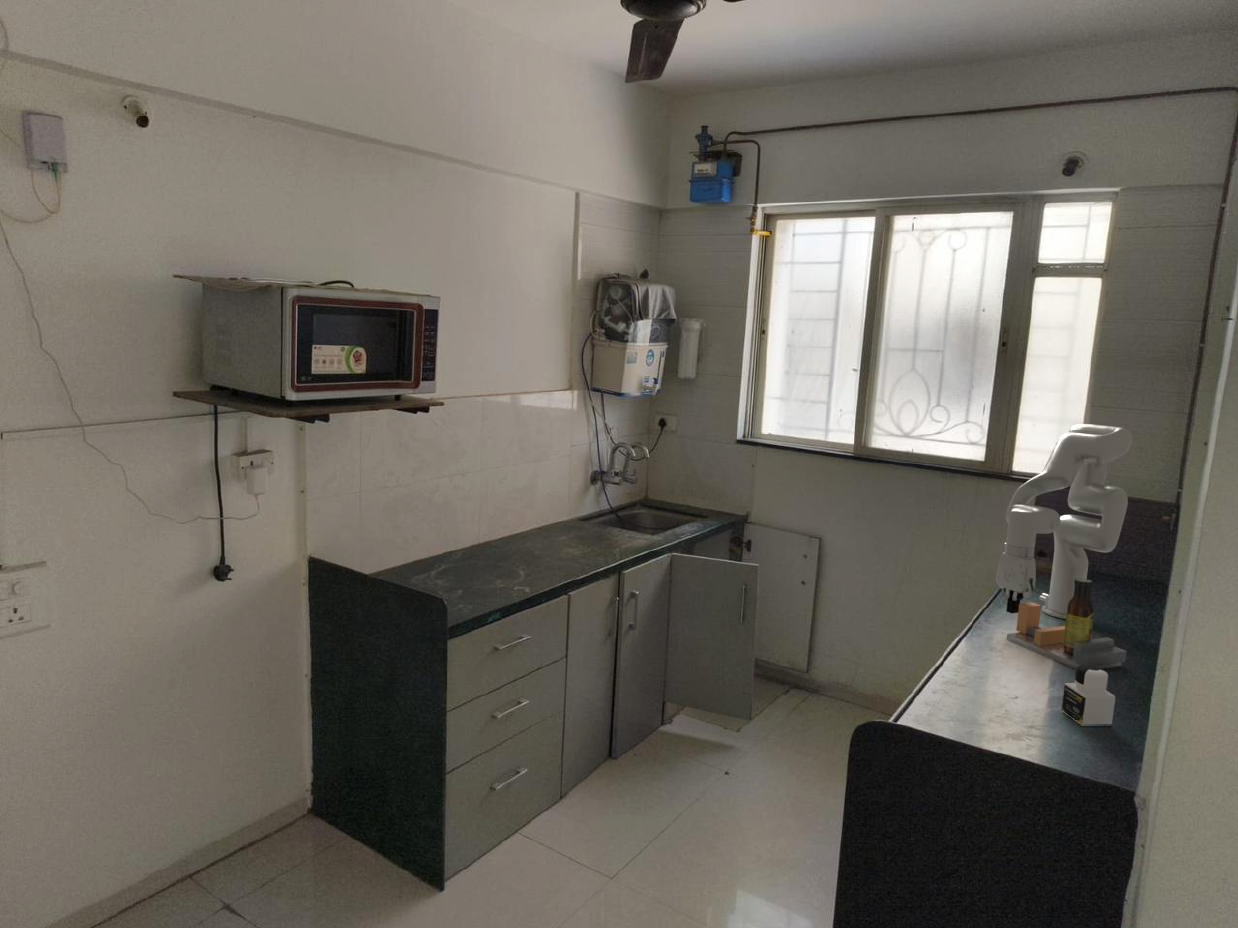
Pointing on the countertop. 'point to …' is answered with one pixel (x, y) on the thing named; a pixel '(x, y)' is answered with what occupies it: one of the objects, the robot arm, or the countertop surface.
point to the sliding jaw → (1037, 625)
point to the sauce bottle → (1079, 615)
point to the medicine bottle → (1089, 696)
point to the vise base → (1049, 649)
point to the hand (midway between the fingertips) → (1012, 611)
